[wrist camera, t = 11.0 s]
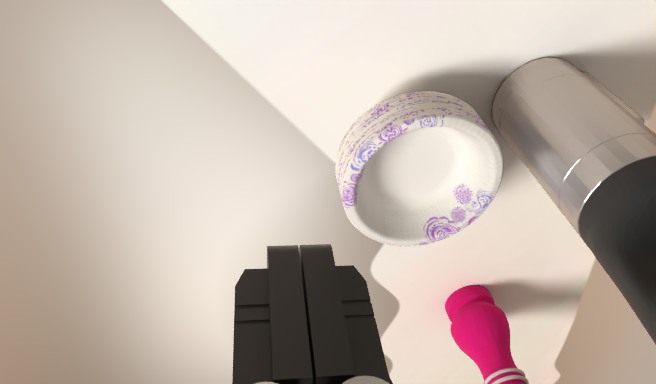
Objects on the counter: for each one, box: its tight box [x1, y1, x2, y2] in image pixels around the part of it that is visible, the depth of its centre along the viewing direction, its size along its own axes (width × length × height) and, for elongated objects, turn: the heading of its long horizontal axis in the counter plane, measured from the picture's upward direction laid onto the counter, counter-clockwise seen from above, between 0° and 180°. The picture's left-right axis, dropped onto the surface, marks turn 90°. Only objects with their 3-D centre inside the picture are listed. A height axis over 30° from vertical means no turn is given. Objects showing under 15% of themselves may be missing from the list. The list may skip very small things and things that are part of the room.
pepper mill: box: [445, 286, 529, 384], centre depth 64 cm, size 7×7×20 cm
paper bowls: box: [335, 91, 503, 246], centre depth 52 cm, size 15×15×8 cm
